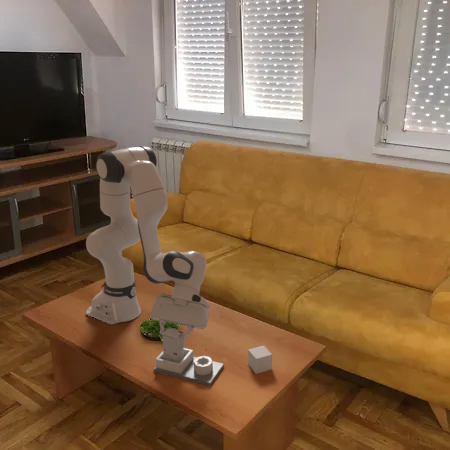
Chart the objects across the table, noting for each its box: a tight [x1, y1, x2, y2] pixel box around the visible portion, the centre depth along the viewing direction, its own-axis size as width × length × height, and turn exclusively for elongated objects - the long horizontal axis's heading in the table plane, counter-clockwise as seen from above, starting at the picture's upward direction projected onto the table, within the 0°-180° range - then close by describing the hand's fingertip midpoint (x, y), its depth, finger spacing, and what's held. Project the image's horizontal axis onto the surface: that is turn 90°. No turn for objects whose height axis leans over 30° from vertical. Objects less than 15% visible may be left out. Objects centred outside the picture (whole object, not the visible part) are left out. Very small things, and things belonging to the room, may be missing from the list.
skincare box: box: [162, 327, 185, 363], centre depth 173 cm, size 6×4×12 cm
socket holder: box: [153, 347, 225, 387], centre depth 173 cm, size 21×11×4 cm, turn 67°
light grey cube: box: [247, 345, 273, 375], centre depth 173 cm, size 6×6×6 cm
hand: (172, 336), depth 171 cm, fingers open, 7 cm apart
